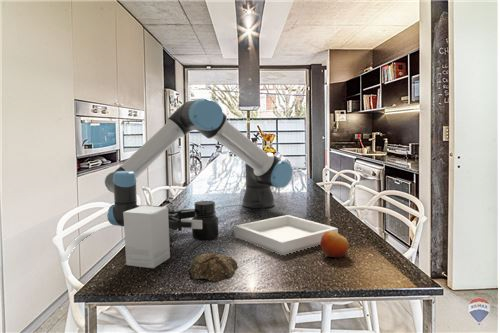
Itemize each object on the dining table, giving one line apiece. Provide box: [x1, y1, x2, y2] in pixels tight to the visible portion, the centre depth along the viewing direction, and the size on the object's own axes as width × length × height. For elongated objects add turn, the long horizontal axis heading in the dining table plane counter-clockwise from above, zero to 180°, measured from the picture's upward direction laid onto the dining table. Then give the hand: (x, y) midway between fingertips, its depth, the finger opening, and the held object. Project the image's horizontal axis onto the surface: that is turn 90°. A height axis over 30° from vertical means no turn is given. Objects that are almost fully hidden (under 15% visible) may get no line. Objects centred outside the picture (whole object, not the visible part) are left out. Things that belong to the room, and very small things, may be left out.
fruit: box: [320, 231, 350, 259], centre depth 109 cm, size 8×8×8 cm
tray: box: [234, 214, 339, 256], centre depth 126 cm, size 24×24×4 cm
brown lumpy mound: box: [188, 252, 239, 282], centre depth 99 cm, size 13×12×5 cm
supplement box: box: [123, 205, 171, 269], centre depth 106 cm, size 9×9×15 cm
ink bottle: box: [191, 200, 219, 242], centre depth 128 cm, size 10×9×12 cm
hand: (209, 219), depth 128 cm, fingers open, 13 cm apart
